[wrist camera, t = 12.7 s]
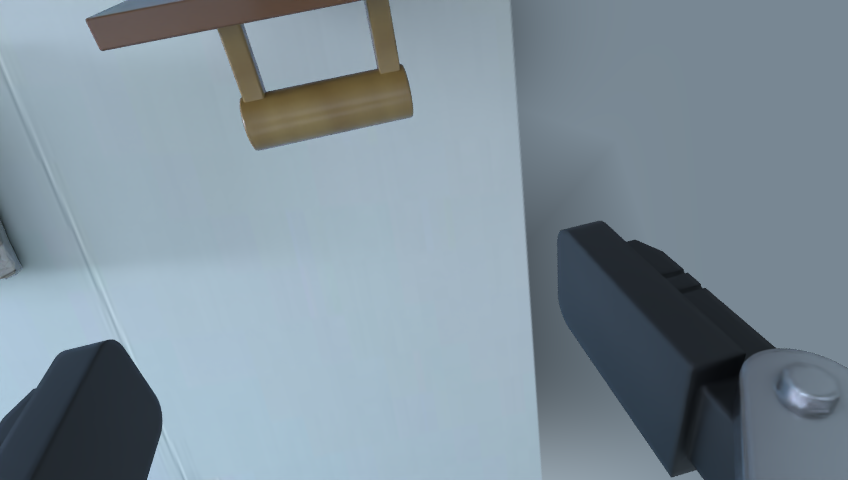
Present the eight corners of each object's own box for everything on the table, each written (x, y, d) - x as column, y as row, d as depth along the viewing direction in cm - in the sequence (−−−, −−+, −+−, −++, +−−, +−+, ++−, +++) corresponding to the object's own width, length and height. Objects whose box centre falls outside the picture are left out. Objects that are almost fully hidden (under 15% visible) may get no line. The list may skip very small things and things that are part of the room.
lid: (83, 19, 12) (170, 191, 15) (486, -58, 13) (498, 118, 16) (204, -35, 27) (236, 57, 30) (388, -69, 28) (403, 23, 31)
